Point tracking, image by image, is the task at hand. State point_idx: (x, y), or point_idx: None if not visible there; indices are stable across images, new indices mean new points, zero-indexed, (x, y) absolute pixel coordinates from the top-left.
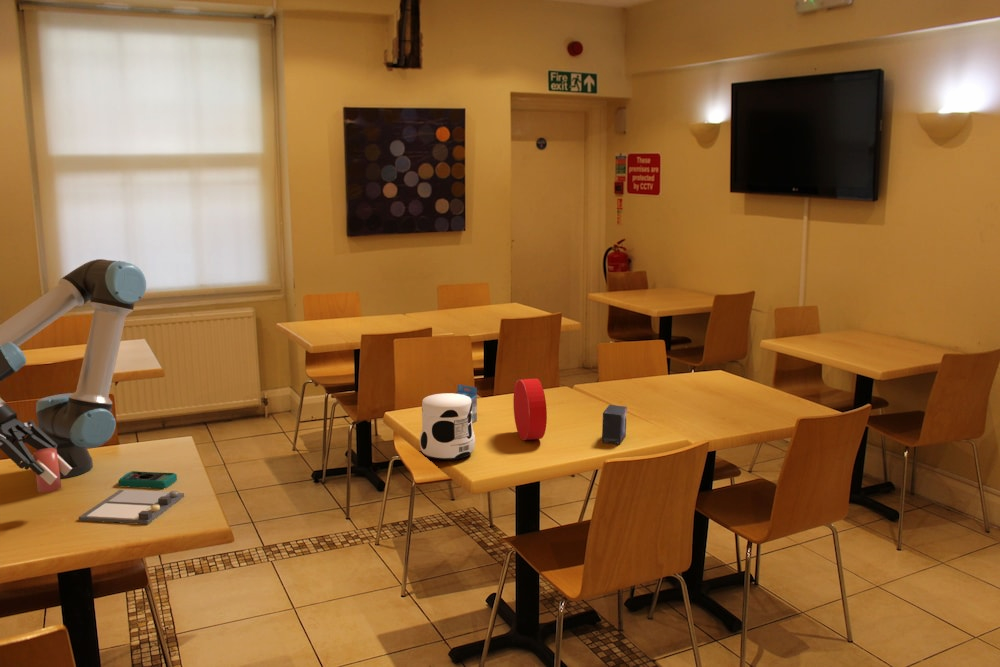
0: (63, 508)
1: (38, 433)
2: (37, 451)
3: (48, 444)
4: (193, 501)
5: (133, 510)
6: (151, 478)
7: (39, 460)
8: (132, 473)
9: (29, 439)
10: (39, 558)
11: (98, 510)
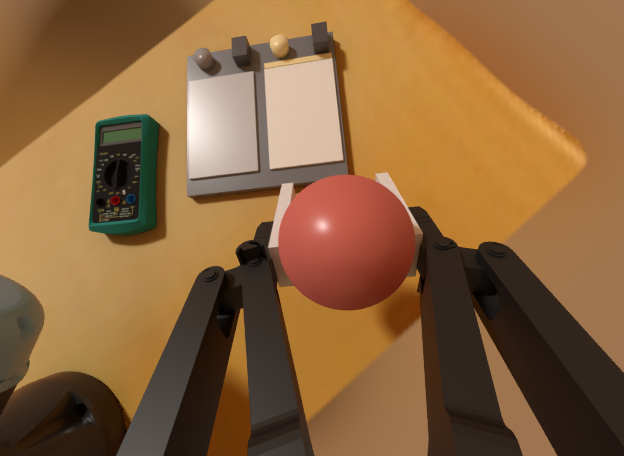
0: None
1: (182, 421)
2: (350, 290)
3: (244, 291)
4: (212, 32)
5: (294, 85)
6: (128, 153)
7: None
8: (101, 218)
9: (303, 420)
10: (537, 125)
11: (309, 155)
